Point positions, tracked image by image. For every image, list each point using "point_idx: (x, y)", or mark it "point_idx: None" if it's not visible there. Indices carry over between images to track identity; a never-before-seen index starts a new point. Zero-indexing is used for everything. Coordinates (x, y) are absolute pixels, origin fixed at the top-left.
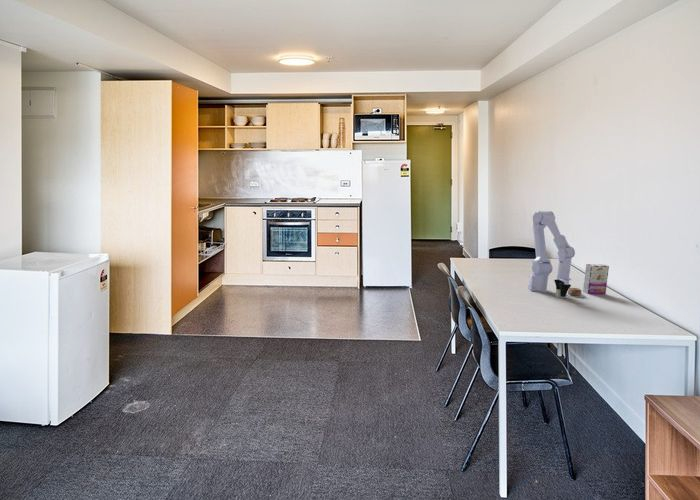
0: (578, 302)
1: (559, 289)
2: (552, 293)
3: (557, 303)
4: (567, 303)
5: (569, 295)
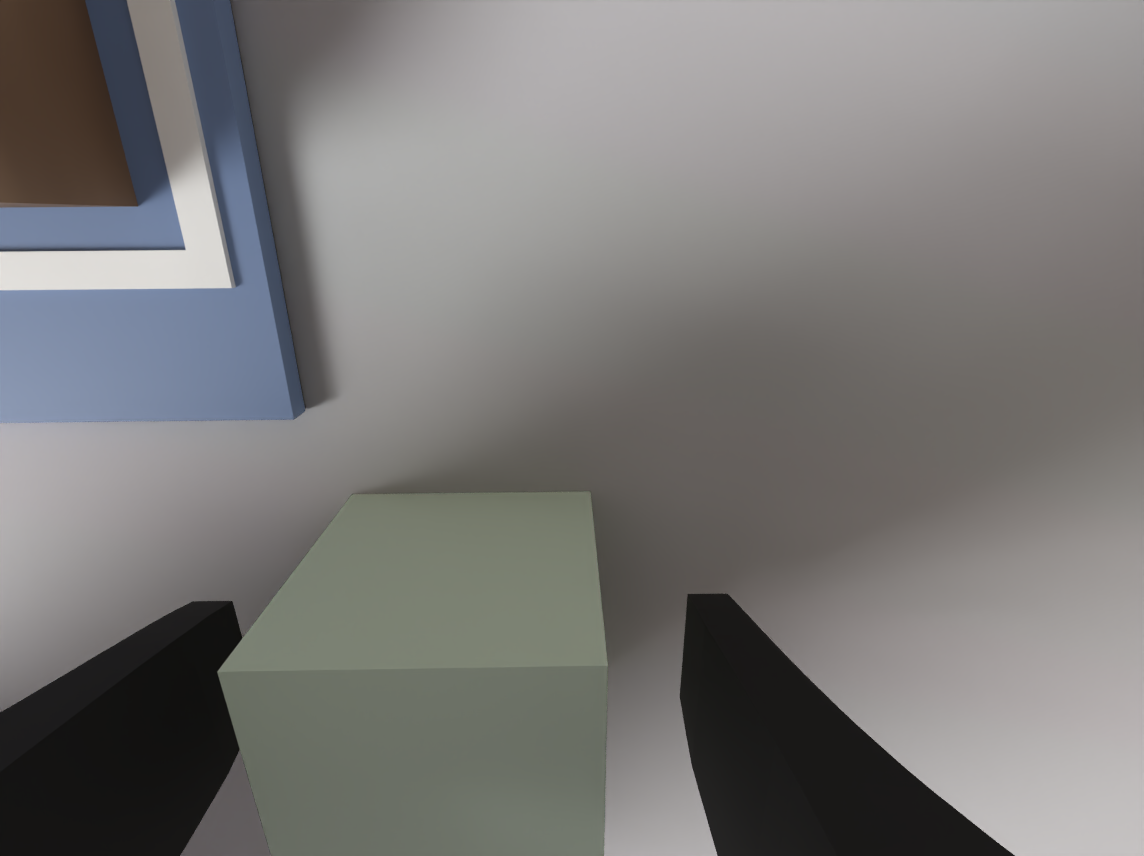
0: (1003, 182)
1: (268, 832)
2: (44, 679)
3: (1131, 787)
4: (1135, 579)
5: (115, 259)
